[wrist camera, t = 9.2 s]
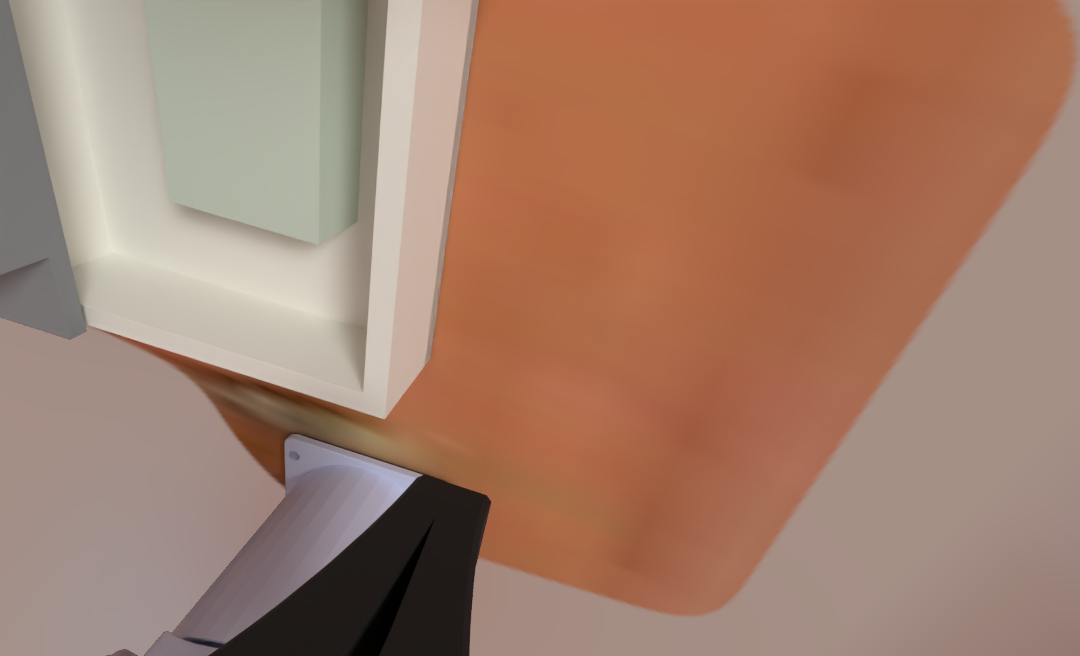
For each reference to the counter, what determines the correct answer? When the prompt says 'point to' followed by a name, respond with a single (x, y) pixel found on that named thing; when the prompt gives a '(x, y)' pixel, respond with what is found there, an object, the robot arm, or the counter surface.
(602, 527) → the counter surface
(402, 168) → the mailer box
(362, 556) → the robot arm
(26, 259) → the lid
